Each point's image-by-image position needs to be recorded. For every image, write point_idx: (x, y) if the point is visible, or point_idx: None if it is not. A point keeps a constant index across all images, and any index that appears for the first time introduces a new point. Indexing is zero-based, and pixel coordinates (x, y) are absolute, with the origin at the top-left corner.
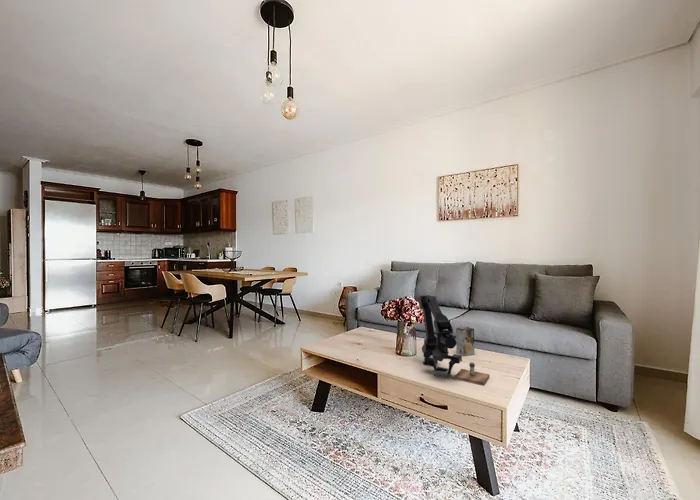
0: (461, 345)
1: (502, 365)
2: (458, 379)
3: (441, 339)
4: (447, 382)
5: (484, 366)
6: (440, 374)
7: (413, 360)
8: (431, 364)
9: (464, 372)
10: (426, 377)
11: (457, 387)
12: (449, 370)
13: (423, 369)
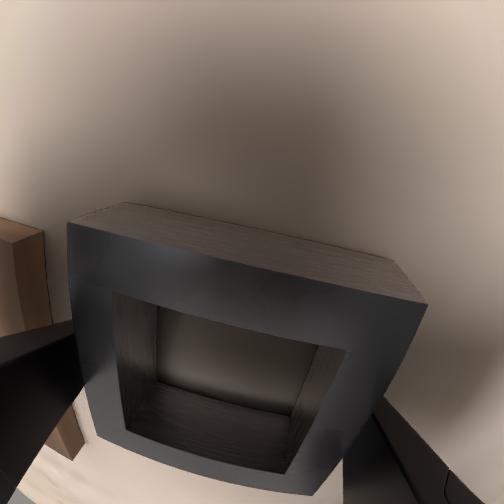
0: None
1: None
2: (9, 222)
3: None
4: (105, 42)
5: (46, 478)
6: (236, 237)
7: (497, 496)
8: None
9: None
10: (491, 115)
11: (22, 3)
12: (38, 338)
13: (495, 408)
